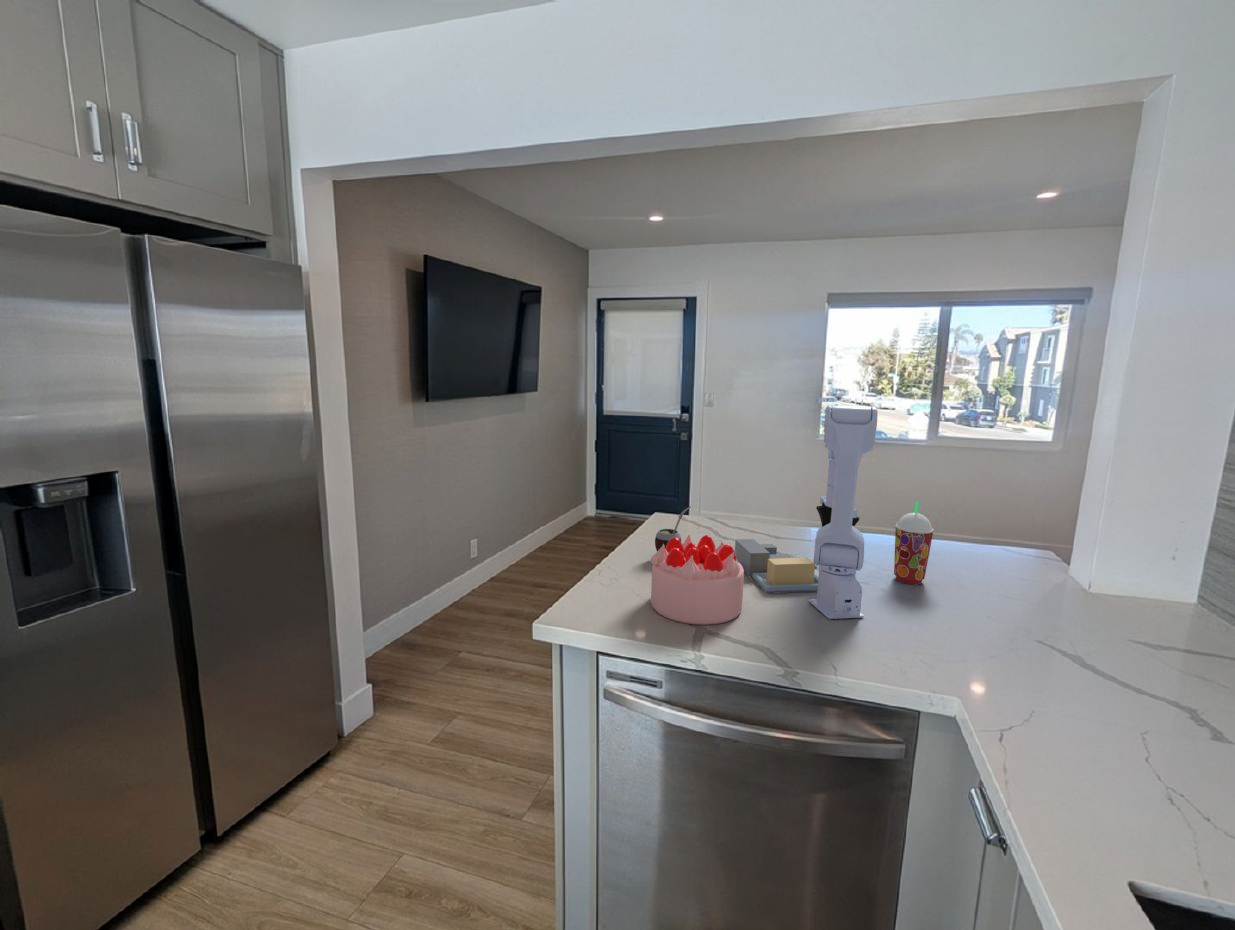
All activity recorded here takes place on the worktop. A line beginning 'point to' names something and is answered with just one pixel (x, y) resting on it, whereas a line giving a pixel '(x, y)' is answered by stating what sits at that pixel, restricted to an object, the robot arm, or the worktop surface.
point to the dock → (755, 555)
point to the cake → (697, 582)
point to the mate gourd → (667, 534)
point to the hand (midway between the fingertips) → (834, 538)
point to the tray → (768, 588)
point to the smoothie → (912, 547)
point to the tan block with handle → (790, 571)
